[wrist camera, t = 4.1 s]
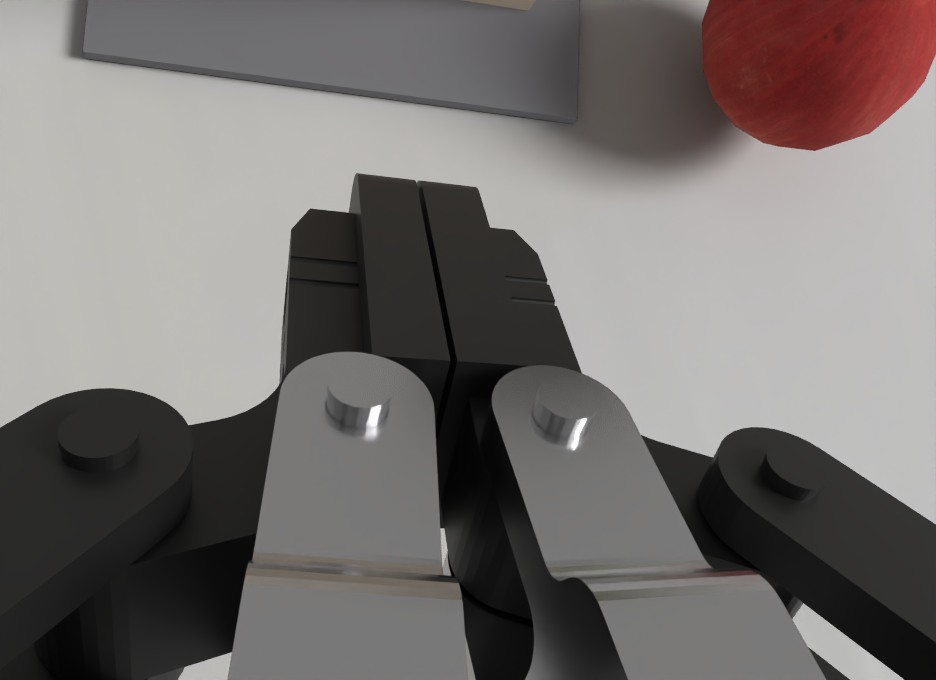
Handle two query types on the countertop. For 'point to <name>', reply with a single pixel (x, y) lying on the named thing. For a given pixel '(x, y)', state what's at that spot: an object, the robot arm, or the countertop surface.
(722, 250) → the countertop surface
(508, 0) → the tile
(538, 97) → the mat
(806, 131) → the onion
